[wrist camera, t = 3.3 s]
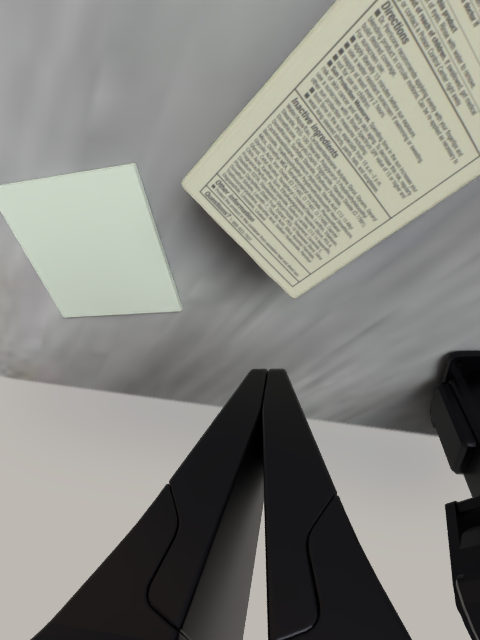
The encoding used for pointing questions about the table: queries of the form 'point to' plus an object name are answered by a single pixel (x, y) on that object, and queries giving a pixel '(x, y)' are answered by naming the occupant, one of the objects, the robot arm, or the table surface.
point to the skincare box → (349, 137)
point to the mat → (92, 242)
